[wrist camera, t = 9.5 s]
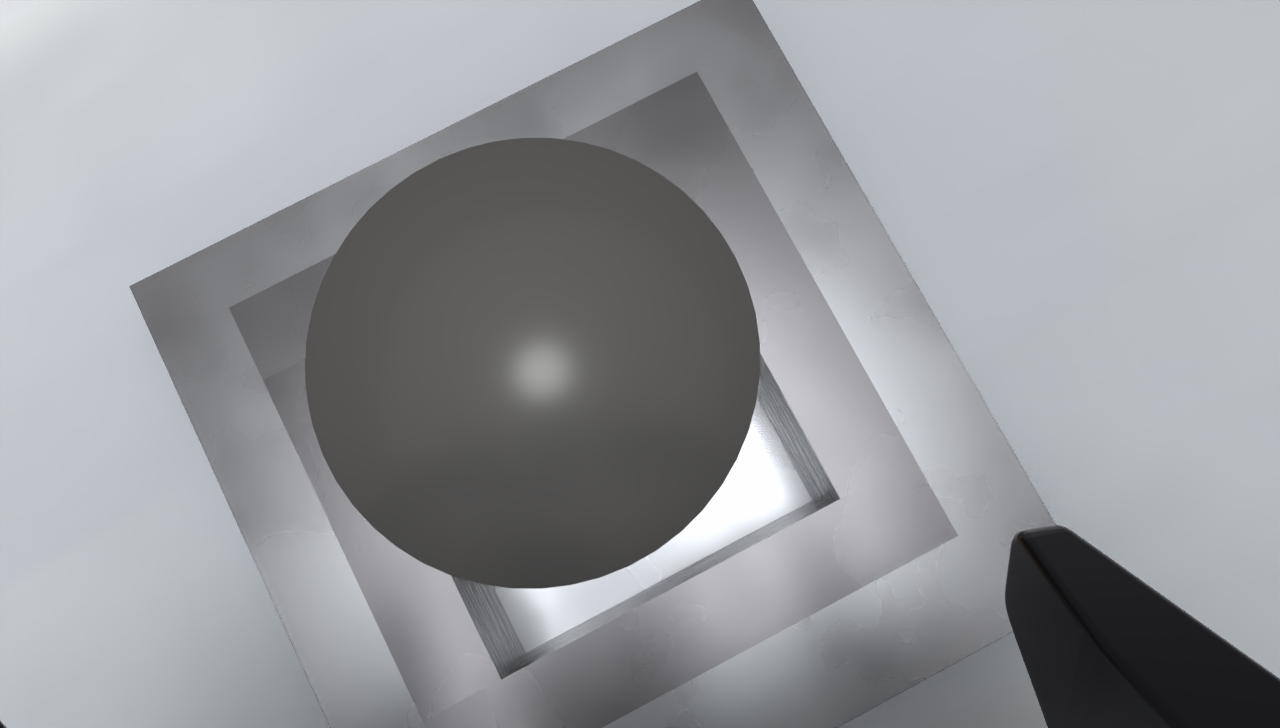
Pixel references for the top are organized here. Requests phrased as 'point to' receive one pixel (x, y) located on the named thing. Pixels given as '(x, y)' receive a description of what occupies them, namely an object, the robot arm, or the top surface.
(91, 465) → the top surface
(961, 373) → the grey square socket
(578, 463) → the grey-capped orange cylinder
